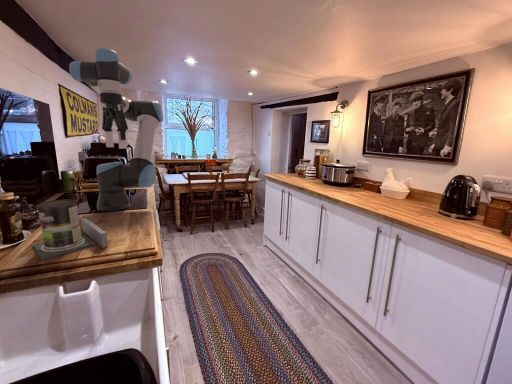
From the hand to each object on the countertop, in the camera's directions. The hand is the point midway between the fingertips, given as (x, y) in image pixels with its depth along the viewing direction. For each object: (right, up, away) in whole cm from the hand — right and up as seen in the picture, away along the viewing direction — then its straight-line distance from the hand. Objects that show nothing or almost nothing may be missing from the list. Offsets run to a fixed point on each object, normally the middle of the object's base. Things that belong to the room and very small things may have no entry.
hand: (116, 147), depth 103 cm
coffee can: (-7, -36, -19) cm, 41 cm away
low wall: (-1, -35, -12) cm, 37 cm away
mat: (-7, -36, -18) cm, 42 cm away
